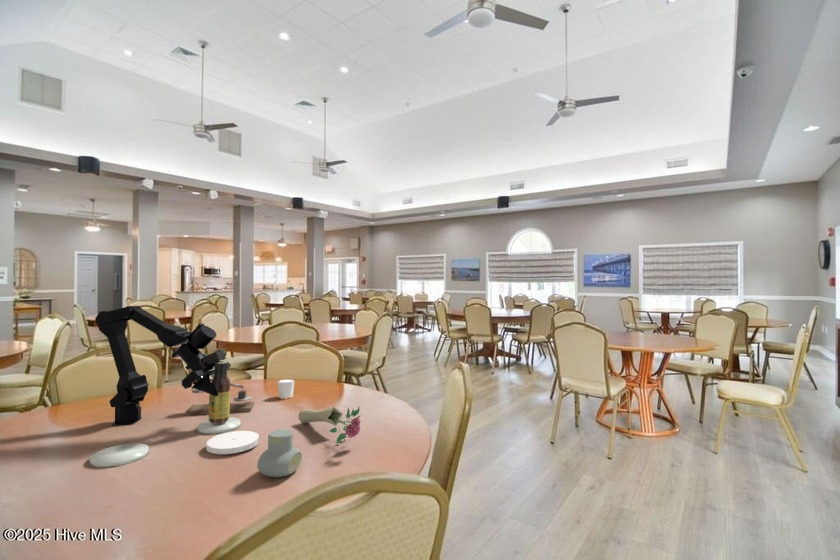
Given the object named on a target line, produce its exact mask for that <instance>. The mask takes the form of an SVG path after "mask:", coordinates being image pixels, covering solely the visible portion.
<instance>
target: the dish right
mask: <svg viewBox="0 0 840 560" xmlns="http://www.w3.org/2000/svg"><path fill="white" fill-rule="evenodd" d="M241 424H242V421H241V419H240V418H238V417H231V416H229V419H228V420H227V421H226V422H223V423H215V424H213V423H211V422H209V419H207V420H204V421H201V422H200V423H198V424H197V427H196V428H197V429H196V430H197V433H199V434H201V435H202V434H203V435H220V434H223V433H227V432H233V431H236V430H237V429H239V428H240V427H241Z"/></svg>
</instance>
